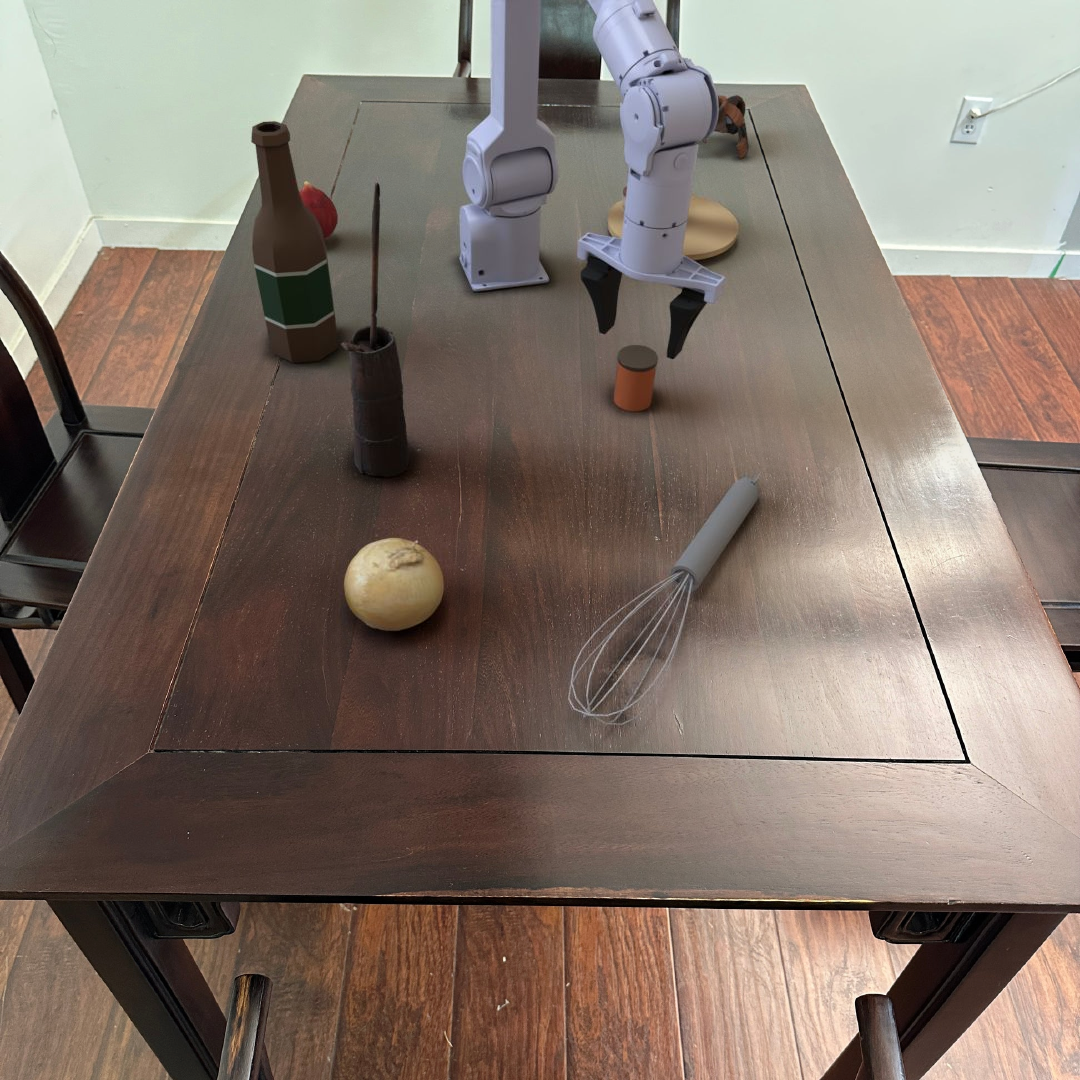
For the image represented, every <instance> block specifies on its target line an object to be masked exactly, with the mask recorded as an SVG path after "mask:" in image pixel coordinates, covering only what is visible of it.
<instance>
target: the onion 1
mask: <svg viewBox="0 0 1080 1080" xmlns="http://www.w3.org/2000/svg"><path fill="white" fill-rule="evenodd" d="M299 193H300V195H301V198H302V201H303V204H304V205H305V206H306V207H307V208H308V209H309V210H310V211H311V212H312V213H313V214H314V215H315V217H316V219H317V221H318V222H319V224H320V226H321V228H322V231H323V236H324V241H325V240H326V239H328V238H329V237H331V235H333V234H334V232H335V230H336V227H337V225H338V223H339V222H338V220H339V217H338V215H339V214H338V213H337V208H336V205H335V204H334V202H333V200H332V199H331V198H330V197H329V196H328V195H327V194H326V193H325V192H324V190H323V191H322V190H321V189H319V188H317V187H315V186H314V185H312V184H311V183H310V182H309V181H307V180H305V181H303V188H302V189H301V190H299Z"/></svg>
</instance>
